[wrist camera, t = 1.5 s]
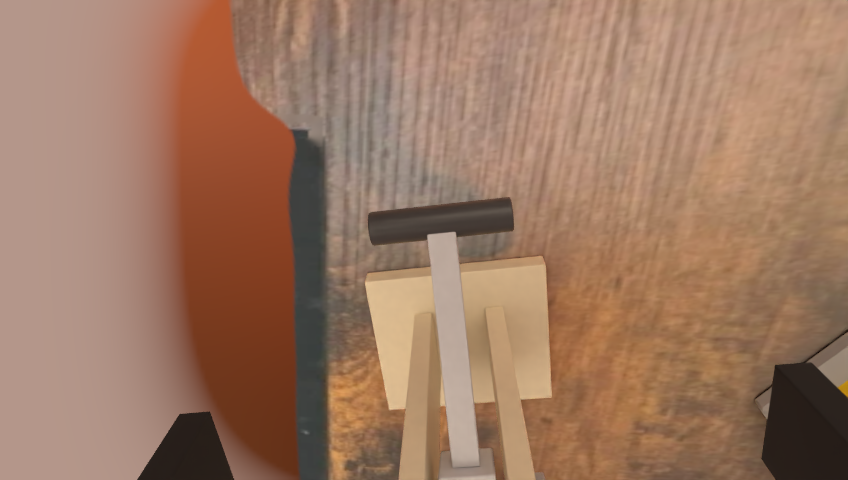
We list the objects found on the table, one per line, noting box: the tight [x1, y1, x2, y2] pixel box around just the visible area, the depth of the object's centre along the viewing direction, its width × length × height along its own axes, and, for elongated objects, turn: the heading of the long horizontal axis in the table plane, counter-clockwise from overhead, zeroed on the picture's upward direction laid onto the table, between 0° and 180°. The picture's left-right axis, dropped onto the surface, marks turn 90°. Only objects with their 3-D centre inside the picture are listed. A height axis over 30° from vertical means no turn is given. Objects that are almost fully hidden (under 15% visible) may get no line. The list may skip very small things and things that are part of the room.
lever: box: [368, 197, 514, 480], centre depth 22 cm, size 13×6×2 cm, turn 7°
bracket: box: [365, 256, 552, 480], centre depth 26 cm, size 9×10×14 cm
